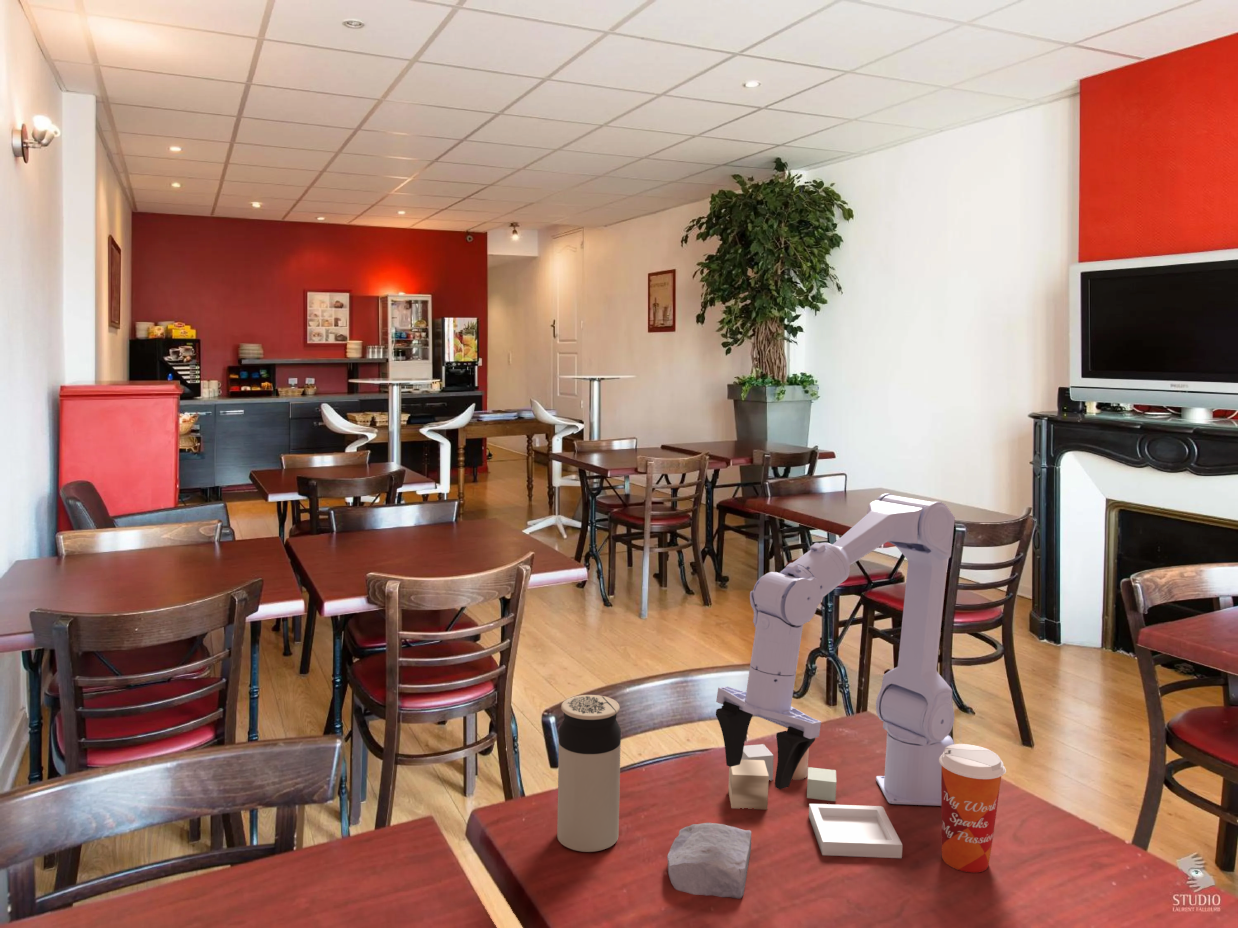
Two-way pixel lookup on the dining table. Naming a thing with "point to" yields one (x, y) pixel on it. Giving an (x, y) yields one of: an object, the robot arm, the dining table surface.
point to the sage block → (821, 784)
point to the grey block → (759, 756)
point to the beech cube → (749, 785)
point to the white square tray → (854, 831)
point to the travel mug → (589, 773)
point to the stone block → (710, 860)
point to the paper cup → (969, 805)
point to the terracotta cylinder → (801, 768)
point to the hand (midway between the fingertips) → (756, 775)
